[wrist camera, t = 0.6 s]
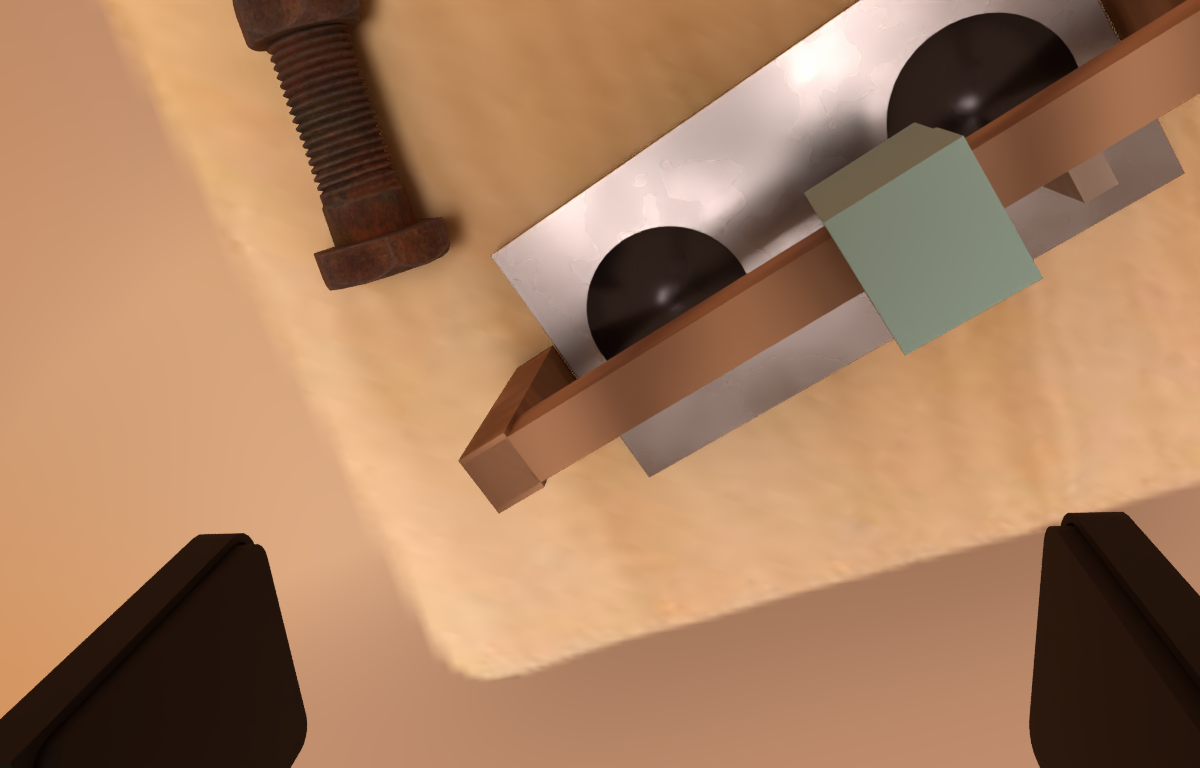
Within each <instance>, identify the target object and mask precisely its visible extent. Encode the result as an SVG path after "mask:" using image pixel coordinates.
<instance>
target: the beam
mask: <svg viewBox="0 0 1200 768" xmlns="http://www.w3.org/2000/svg"><path fill="white" fill-rule="evenodd" d="M1102 2H1103V4H1104V6H1105V8H1106V10H1107V12H1108V14H1109V16H1110V18H1111V20H1112V22H1113V24H1114V26H1115V28H1116V30H1117V32H1118V34H1119V36H1120V38H1121V40H1122V41H1121V42H1119V43H1117V44H1116V45H1114V46H1112V47H1111V48H1109V49H1108V50H1106V51H1104V52H1103V53H1101V54H1100V55H1098V56H1096V57H1095V58H1093V59H1092V60H1090V61H1088V62H1087V63H1085V64H1084V65H1082V66H1080V67H1079V68H1077V69H1075V70H1074V71H1072V72H1071V73H1069V74H1067V75H1066V76H1064V77H1063V78H1061V79H1059V80H1058V81H1056V82H1055V83H1053V84H1051V85H1050V86H1048V87H1047V88H1045V89H1043V90H1042V91H1040V92H1039V93H1037V94H1035V95H1034V96H1032V97H1030V98H1029V99H1027V100H1026V101H1024V102H1022V103H1021V104H1019V105H1018V106H1016V107H1014V108H1013V109H1011V110H1010V111H1008V112H1006V113H1005V114H1003V115H1002V116H1000V117H998V118H997V119H995V120H993V121H992V122H990V123H989V124H987V125H985V126H984V127H982V128H981V129H979V130H977V131H976V132H974V133H973V134H971V135H969V136H968V137H966V138H965V139H966V141H967V143H968V145H969V146H970V148H971V150H972V152H973V154H974V155H975V157H976V159H977V161H978V163H979V164H980V166H981V168H982V170H983V172H984V173H985V175H986V177H987V179H988V180H989V182H990V184H991V186H992V188H993V189H994V191H995V193H996V195H997V197H998V198H999V200H1000V202H1001V204H1002V206H1003V207H1004V209H1005V208H1007V207H1008V206H1010V205H1012V204H1013V203H1015V202H1017V201H1018V200H1020V199H1022V198H1024V197H1025V196H1027V195H1029V194H1030V193H1032V192H1034V191H1035V190H1037V189H1039V188H1040V187H1042V186H1043V187H1045V188H1048V189H1050V190H1053V191H1055V192H1058V193H1060V194H1063V195H1065V196H1068V197H1070V198H1073V199H1076V200H1078V201H1081V202H1083V203H1087V202H1088V201H1090V200H1092V199H1094V198H1095V197H1097V196H1099V195H1100V194H1102V193H1104V192H1106V191H1107V190H1109V189H1111V188H1113V187H1114V186H1116V185H1118V184H1119V183H1118V181H1117V179H1116V177H1115V175H1114V174H1113V172H1112V170H1111V168H1110V166H1109V164H1108V162H1107V160H1106V158H1105V156H1104V154H1103V152H1102V151H1103V150H1105V149H1106V148H1108V147H1110V146H1112V145H1113V144H1115V143H1117V142H1118V141H1120V140H1122V139H1123V138H1125V137H1127V136H1129V135H1130V134H1132V133H1134V132H1135V131H1137V130H1139V129H1140V128H1142V127H1144V126H1145V125H1147V124H1149V123H1151V122H1152V121H1154V120H1156V119H1157V118H1159V117H1161V116H1162V115H1164V114H1166V113H1167V112H1169V111H1171V110H1173V109H1174V108H1176V107H1178V106H1179V105H1181V104H1183V103H1184V102H1186V101H1188V100H1189V99H1191V98H1193V97H1195V96H1196V95H1198V94H1200V0H1102ZM863 292H864V289H863V287H862V286H861V284H860V282H859V281H858V279H857V278H856V276H855V274H854V273H853V271H852V269H851V268H850V266H849V264H848V263H847V261H846V260H845V258H844V256H843V255H842V253H841V251H840V250H839V248H838V247H837V245H836V243H835V242H834V240H833V238H832V237H831V235H830V233H829V232H828V230H827V229H826V227H825V226H823V227H821V228H820V229H818V230H817V231H815V232H813V233H812V234H810V235H809V236H807V237H805V238H804V239H802V240H801V241H799V242H797V243H796V244H794V245H793V246H791V247H789V248H788V249H786V250H784V251H783V252H781V253H780V254H778V255H776V256H775V257H773V258H772V259H770V260H768V261H767V262H765V263H764V264H762V265H760V266H759V267H757V268H756V269H754V270H752V271H751V272H749V273H747V274H746V275H744V276H743V277H741V278H739V279H738V280H736V281H735V282H733V283H731V284H730V285H728V286H727V287H725V288H723V289H722V290H720V291H719V292H717V293H715V294H714V295H712V296H711V297H709V298H707V299H706V300H704V301H702V302H701V303H699V304H698V305H696V306H694V307H693V308H691V309H690V310H688V311H686V312H685V313H683V314H682V315H680V316H678V317H677V318H675V319H674V320H672V321H670V322H669V323H667V324H665V325H664V326H662V327H661V328H659V329H657V330H656V331H654V332H653V333H651V334H649V335H648V336H646V337H645V338H643V339H641V340H640V341H638V342H637V343H635V344H633V345H632V346H630V347H629V348H627V349H625V350H624V351H622V352H620V353H619V354H617V355H616V356H614V357H612V358H611V359H609V360H608V361H606V362H604V363H603V364H601V365H600V366H598V367H596V368H595V369H593V370H592V371H590V372H588V373H587V374H585V375H584V376H582V377H580V378H579V379H577V380H576V378H575V377H574V375H573V374H572V373H571V371H570V370H569V369H568V367H567V366H566V364H565V363H564V362H563V360H562V359H561V357H560V356H559V355H558V353H557V352H556V350H555V349H554V348H553V346H551V347H550V348H548V349H546V350H545V351H543V352H542V353H540V354H539V355H537V356H536V357H534V358H532V359H531V360H529V361H528V362H526V363H525V364H523V365H522V366H520V367H518V368H517V369H516V370H515V372H514V374H513V375H512V377H511V378H510V380H509V382H508V383H507V385H506V386H505V388H504V389H503V391H502V393H501V394H500V396H499V397H498V399H497V401H496V402H495V404H494V405H493V407H492V408H491V410H490V412H489V413H488V415H487V416H486V418H485V419H484V421H483V423H482V424H481V426H480V427H479V429H478V431H477V432H476V434H475V435H474V437H473V438H472V440H471V442H470V443H469V445H468V446H467V448H466V450H465V451H464V453H463V454H462V456H461V457H460V459H459V462H460V463H461V465H462V466H463V467H464V469H465V470H466V471H467V473H468V474H469V475H470V476H471V478H472V479H473V480H474V482H475V483H476V484H477V486H478V487H479V488H480V489H481V491H482V492H483V493H484V495H485V496H486V497H487V499H488V500H489V501H490V502H491V504H492V505H493V506H494V508H495V509H496V510H497V512H498V513H501V512H502V511H504V510H506V509H508V508H509V507H511V506H513V505H514V504H516V503H518V502H519V501H521V500H523V499H525V498H526V497H528V496H530V495H531V494H533V493H535V492H536V491H538V490H540V489H542V488H543V487H544V486H545V484H546V481H547V479H548V478H549V477H551V476H553V475H554V474H556V473H558V472H559V471H561V470H563V469H565V468H566V467H568V466H570V465H571V464H573V463H575V462H576V461H578V460H580V459H581V458H583V457H585V456H587V455H588V454H590V453H592V452H593V451H595V450H597V449H598V448H600V447H602V446H604V445H605V444H607V443H609V442H610V441H612V440H614V439H615V438H617V437H619V436H620V435H622V434H624V433H626V432H627V431H629V430H631V429H632V428H634V427H636V426H637V425H639V424H641V423H642V422H644V421H646V420H648V419H649V418H651V417H653V416H654V415H656V414H658V413H659V412H661V411H663V410H664V409H666V408H668V407H670V406H671V405H673V404H675V403H676V402H678V401H680V400H681V399H683V398H685V397H686V396H688V395H690V394H692V393H693V392H695V391H697V390H698V389H700V388H702V387H703V386H705V385H707V384H709V383H710V382H712V381H714V380H715V379H717V378H719V377H720V376H722V375H724V374H725V373H727V372H729V371H731V370H732V369H734V368H736V367H737V366H739V365H741V364H742V363H744V362H746V361H747V360H749V359H751V358H753V357H754V356H756V355H758V354H759V353H761V352H763V351H764V350H766V349H768V348H769V347H771V346H773V345H775V344H776V343H778V342H780V341H781V340H783V339H785V338H786V337H788V336H790V335H791V334H793V333H795V332H797V331H798V330H800V329H802V328H803V327H805V326H807V325H808V324H810V323H812V322H814V321H815V320H817V319H819V318H820V317H822V316H824V315H825V314H827V313H829V312H830V311H832V310H834V309H836V308H837V307H839V306H841V305H842V304H844V303H846V302H847V301H849V300H851V299H852V298H854V297H856V296H858V295H859V294H861V293H863Z"/></svg>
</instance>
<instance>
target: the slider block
mask: <svg viewBox="0 0 1200 768" xmlns="http://www.w3.org/2000/svg"><path fill="white" fill-rule="evenodd" d="M804 194H805V196H806V197H807V199H808V200H809V202H810V204H811V205H812V207H813V209H814V210H815V212H816V213H817V215H818V217H819V218H820V220H821V221H822V223H823V224H824V226H825V227H826V229H827V230H828V232H829V233H830V235H831V237H832V238H833V240H834V242H835V243H836V245H837V247H838V248H839V250H840V251H841V253H842V255H843V256H844V258H845V260H846V261H847V263H848V264H849V266H850V268H851V269H852V271H853V273H854V274H855V276H856V278H857V279H858V281H859V282H860V284H861V286H862V287H863V289H864V292H865V293H866V295H867V297H868V298H869V300H870V301H871V303H872V305H873V306H874V308H875V309H876V311H877V312H878V314H879V315H880V317H881V319H882V320H883V322H884V323H885V325H886V326H887V328H888V330H889V331H890V333H891V334H892V336H893V337H894V339H895V341H896V342H897V344H898V345H899V347H900V348H901V350H902V351H903V353H904V355H907V354H908V353H910V352H912V351H914V350H916V349H917V348H919V347H921V346H923V345H925V344H926V343H928V342H930V341H932V340H933V339H935V338H937V337H939V336H941V335H942V334H944V333H946V332H948V331H950V330H951V329H953V328H955V327H957V326H958V325H960V324H962V323H964V322H966V321H967V320H969V319H971V318H973V317H974V316H976V315H978V314H980V313H982V312H983V311H985V310H987V309H989V308H991V307H992V306H994V305H996V304H998V303H999V302H1001V301H1003V300H1005V299H1007V298H1008V297H1010V296H1012V295H1014V294H1016V293H1017V292H1019V291H1021V290H1023V289H1024V288H1026V287H1028V286H1030V285H1032V284H1033V283H1035V282H1037V281H1039V280H1041V279H1042V278H1043V277H1042V275H1041V274H1040V272H1039V270H1038V268H1037V266H1036V265H1035V263H1034V261H1033V259H1032V257H1031V256H1030V254H1029V252H1028V250H1027V248H1026V247H1025V245H1024V243H1023V241H1022V240H1021V238H1020V236H1019V234H1018V232H1017V231H1016V229H1015V227H1014V225H1013V223H1012V222H1011V220H1010V218H1009V216H1008V214H1007V213H1006V211H1005V209H1004V207H1003V206H1002V204H1001V202H1000V200H999V198H998V197H997V195H996V193H995V191H994V189H993V188H992V186H991V184H990V182H989V180H988V179H987V177H986V175H985V173H984V172H983V170H982V168H981V166H980V164H979V163H978V161H977V159H976V157H975V155H974V154H973V152H972V150H971V148H970V146H969V145H968V143H967V141H966V139H965V138H964V136H963V135H960V134H956V133H953V132H950V131H947V130H944V129H941V128H937V127H936V128H934V129H933V128H930V127H927V126H924V125H921V124H918V123H913V124H911V125H909V126H908V127H906V128H905V129H903V130H902V131H900V132H898V133H897V134H895V135H894V136H892V137H891V138H889V139H887V140H886V141H884V142H883V143H881V144H880V145H878V146H876V147H875V148H873V149H872V150H870V151H869V152H867V153H866V154H864V155H862V156H861V157H859V158H858V159H856V160H855V161H853V162H851V163H850V164H848V165H847V166H845V167H844V168H842V169H840V170H839V171H837V172H836V173H834V174H833V175H831V176H829V177H828V178H826V179H825V180H823V181H822V182H820V183H819V184H817V185H815V186H814V187H812V188H811V189H809V190H808V191H806V192H804Z"/></svg>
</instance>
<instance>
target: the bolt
mask: <svg viewBox="0 0 1200 768" xmlns="http://www.w3.org/2000/svg"><path fill="white" fill-rule="evenodd" d="M233 6H234V10H235V14H236V17H237V20H238V23H239V25H240V28H241V31H242V33H243V36H244V39H245V41H246V44H247V46H248V47H249V48H250V49H252V50H254V51H267V52H268V53H269V54H271V55H273V56H272V57H271V59H270V60H271V62H273V63H275V64H276V65H275V67H274V70H275V71H277V72H279V74H278V76H277V79H278V80H280V81H283V82H282V84H281V85H280V88H281V89H283V90H286V91H285V93H284V94H283V97H286V98H288V99H289V100H288V102H287V103H286V105H287V106H290V107H292V109H291V111H290V112H289V113H290V114H291V115H294V116H296V117H295V118H294V120H293V121H292V122H293V123H295V124H299V125H298V127H297V128H296V131H297V132H300V133H302V134H301V135H300V139H301V140H303V141H305V143H304V144H303V147H304V148H305V149H309V150H308V151H307V153H306V154H305V155H306V156H307V157H310V158H311V159H310V161H309V162H308V163H309V165H310V166H314V168H313V169H312V170H311V172H312V174H316V175H317V176H316V177H315V179H314V182H318V183H320V184H319V186H318V187H317V189H318V191H323V193H322V194H321V195H320V198H321V201H322V204H323V208H322V210H323V213H324V216H325V219H326V222H327V224H328V227H329V230H330V233H331V236H332V239H333V242H334V245H335V247H332V248H329V249H326V250H323V251H320V252H317V253H314V256H315V259H316V262H317V264H318V267H319V270H320V272H321V275H322V277H323V280H324V282H325V284H326V286H327V287H328V289H329V290H338V289H344V288H348V287H353V286H357V285H362V284H366V283H370V282H373V281H376V280H379V279H382V278H385V277H389V276H392V275H395V274H398V273H401V272H404V271H407V270H410V269H413V268H416V267H418V266H422V265H425V264H428V263H430V262H432V261H434V260H436V259H438V258H440V257H442V256H443V255H445V254H446V253H447V252H448V250H449V247H450V243H449V239H448V236H447V233H446V230H445V227H444V224H443V221H442V218H441V217H440V218H428V219H424V220H421V221H417V222H416V221H415V218H414V215H413V212H412V209H411V207H410V204H409V201H408V198H407V195H406V192H405V189H404V186H403V185H402V184H401V183H400V181H399V178H398V177H397V176H396V175H395V174H396V170H395V169H393V168H390V166H392V165H393V164H394V163H393V161H390V160H387V158H388V157H390V156H391V154H390V153H388V152H385V151H384V150H385V149H386V148H388V146H387V145H385V144H382V143H381V142H382V141H383V140H384V139H385V137H384V136H381V135H379V133H380V132H381V131H382V129H381V128H379V127H377V126H376V125H377V124H378V123H379V120H377V119H375V118H373V117H374V116H375V115H376V112H375V111H373V110H371V107H372V106H373V105H374V104H373V103H371V102H368V101H367V100H368V99H369V98H370V97H371V95H369V94H367V93H364V92H365V91H366V90H367V88H368V87H367V86H364V85H362V83H363V81H364V80H365V78H364V77H361V76H359V74H360V73H361V71H362V69H360V68H357V67H356V66H357V64H358V63H359V60H356V59H354V58H353V57H354V56H355V54H356V52H354V51H352V50H350V49H351V47H352V45H353V43H351V42H348V41H347V40H348V38H349V37H350V35H349V34H347V33H345V31H347V30H349V29H351V28H353V27H355V26H356V25H357V24H358V23H359V22H360V16H361V6H360V2H359V0H233Z"/></svg>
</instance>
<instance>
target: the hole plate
mask: <svg viewBox="0 0 1200 768" xmlns="http://www.w3.org/2000/svg"><path fill="white" fill-rule="evenodd" d="M1117 43H1119V41H1118V39H1117V37H1116V35H1115V33H1114V31H1113V29H1112V27H1111V25H1110V23H1109V21H1108V20H1107V18H1106V16H1105V14H1104V12H1103V10H1102V8H1101V6H1100V4H1099V2H1098V0H858V1H857V2H855V3H854V4H852V5H851V6H849V7H848V8H846V9H845V10H844V11H842V12H841V13H839V14H838V15H836V16H835V17H833V18H832V19H831V20H829V21H828V22H826V23H825V24H823V25H822V26H820V27H819V28H818V29H816V30H815V31H813V32H812V33H810V34H809V35H807V36H806V37H805V38H803V39H802V40H800V41H799V42H797V43H796V44H794V45H793V46H792V47H790V48H789V49H787V50H786V51H784V52H783V53H781V54H780V55H779V56H777V57H776V58H774V59H773V60H771V61H770V62H768V63H767V64H766V65H764V66H763V67H761V68H760V69H758V70H757V71H756V72H754V73H753V74H751V75H750V76H748V77H747V78H745V79H744V80H743V81H741V82H740V83H738V84H737V85H735V86H734V87H732V88H731V89H730V90H728V91H727V92H725V93H724V94H722V95H721V96H719V97H718V98H717V99H715V100H714V101H712V102H711V103H709V104H708V105H706V106H705V107H704V108H702V109H701V110H699V111H698V112H696V113H695V114H693V115H692V116H691V117H689V118H688V119H686V120H685V121H683V122H682V123H680V124H679V125H678V126H676V127H675V128H673V129H672V130H670V131H669V132H667V133H666V134H665V135H663V136H662V137H660V138H659V139H657V140H656V141H655V142H653V143H652V144H650V145H649V146H647V147H646V148H644V149H643V150H642V151H640V152H639V153H637V154H636V155H634V156H633V157H631V158H630V159H629V160H627V161H626V162H624V163H623V164H621V165H620V166H618V167H617V168H616V169H614V170H613V171H611V172H610V173H608V174H607V175H605V176H604V177H603V178H601V179H600V180H598V181H597V182H595V183H594V184H592V185H591V186H590V187H588V188H587V189H585V190H584V191H582V192H581V193H579V194H578V195H577V196H575V197H574V198H572V199H571V200H569V201H568V202H567V203H565V204H564V205H562V206H561V207H559V208H558V209H556V210H555V211H554V212H552V213H551V214H549V215H548V216H546V217H545V218H543V219H542V220H541V221H539V222H538V223H536V224H535V225H533V226H532V227H530V228H529V229H528V230H526V231H525V232H523V233H522V234H520V235H519V236H517V237H516V238H515V239H513V240H512V241H510V242H509V243H507V244H506V245H504V246H503V247H502V248H500V249H499V250H497V251H496V252H495V253H494V254H493V255H492V258H493V259H494V261H495V262H496V263H497V265H498V266H499V268H500V269H501V270H502V272H503V273H504V275H505V276H506V277H507V279H508V280H509V282H510V283H511V284H512V286H513V287H514V289H515V290H516V291H517V293H518V294H519V296H520V297H521V298H522V300H523V301H524V303H525V304H526V305H527V307H528V308H529V310H530V311H531V312H532V314H533V315H534V317H535V318H536V319H537V321H538V322H539V324H540V325H541V327H542V328H543V329H544V331H545V332H546V334H547V335H548V336H549V338H550V339H551V341H552V342H553V343H554V345H555V346H556V348H557V349H558V350H559V352H560V353H561V355H562V356H563V357H564V359H565V360H566V362H567V363H568V364H569V366H570V367H571V369H572V370H573V371H574V373H575V374H576V376H577V377H578V378H580V377H582V376H584V375H585V374H587V373H588V372H590V371H592V370H593V369H595V368H596V367H598V366H600V365H601V364H603V363H604V362H606V361H608V360H609V359H611V358H612V357H614V356H616V355H617V354H619V353H620V352H622V351H624V350H625V349H627V348H629V347H630V346H632V345H633V344H635V343H637V342H638V341H640V340H641V339H643V338H645V337H646V336H648V335H649V334H651V333H653V332H654V331H656V330H657V329H659V328H661V327H662V326H664V325H665V324H667V323H669V322H670V321H672V320H674V319H675V318H677V317H678V316H680V315H682V314H683V313H685V312H686V311H688V310H690V309H691V308H693V307H694V306H696V305H698V304H699V303H701V302H702V301H704V300H706V299H707V298H709V297H711V296H712V295H714V294H715V293H717V292H719V291H720V290H722V289H723V288H725V287H727V286H728V285H730V284H731V283H733V282H735V281H736V280H738V279H739V278H741V277H743V276H744V275H746V274H747V273H749V272H751V271H752V270H754V269H756V268H757V267H759V266H760V265H762V264H764V263H765V262H767V261H768V260H770V259H772V258H773V257H775V256H776V255H778V254H780V253H781V252H783V251H784V250H786V249H788V248H789V247H791V246H793V245H794V244H796V243H797V242H799V241H801V240H802V239H804V238H805V237H807V236H809V235H810V234H812V233H813V232H815V231H817V230H818V229H820V228H821V227H823V226H824V224H823V223H822V221H821V220H820V218H819V217H818V215H817V213H816V212H815V210H814V209H813V207H812V205H811V204H810V202H809V200H808V199H807V197H806V196H805V194H804V192H806V191H808V190H809V189H811V188H812V187H814V186H815V185H817V184H819V183H820V182H822V181H823V180H825V179H826V178H828V177H829V176H831V175H833V174H834V173H836V172H837V171H839V170H840V169H842V168H844V167H845V166H847V165H848V164H850V163H851V162H853V161H855V160H856V159H858V158H859V157H861V156H862V155H864V154H866V153H867V152H869V151H870V150H872V149H873V148H875V147H876V146H878V145H880V144H881V143H883V142H884V141H886V140H887V139H889V138H891V137H892V136H894V135H895V134H897V133H898V132H900V131H902V130H903V129H905V128H906V127H908V126H909V125H911V124H913V123H918V124H921V125H924V126H927V127H930V128H933V129H934V128H936V127H937V128H941V129H944V130H947V131H950V132H953V133H956V134H960V135H963V136H964V138H966V137H968V136H969V135H971V134H973V133H974V132H976V131H977V130H979V129H981V128H982V127H984V126H985V125H987V124H989V123H990V122H992V121H993V120H995V119H997V118H998V117H1000V116H1002V115H1003V114H1005V113H1006V112H1008V111H1010V110H1011V109H1013V108H1014V107H1016V106H1018V105H1019V104H1021V103H1022V102H1024V101H1026V100H1027V99H1029V98H1030V97H1032V96H1034V95H1035V94H1037V93H1039V92H1040V91H1042V90H1043V89H1045V88H1047V87H1048V86H1050V85H1051V84H1053V83H1055V82H1056V81H1058V80H1059V79H1061V78H1063V77H1064V76H1066V75H1067V74H1069V73H1071V72H1072V71H1074V70H1075V69H1077V68H1079V67H1080V66H1082V65H1084V64H1085V63H1087V62H1088V61H1090V60H1092V59H1093V58H1095V57H1096V56H1098V55H1100V54H1101V53H1103V52H1104V51H1106V50H1108V49H1109V48H1111V47H1112V46H1114V45H1116V44H1117ZM1102 152H1103V154H1104V156H1105V158H1106V160H1107V162H1108V164H1109V166H1110V168H1111V170H1112V172H1113V174H1114V175H1115V177H1116V179H1117V181H1118V183H1119V184H1118V185H1116V186H1114V187H1113V188H1111V189H1109V190H1107V191H1106V192H1104V193H1102V194H1100V195H1099V196H1097V197H1095V198H1094V199H1092V200H1090V201H1088V202H1087V203H1083V202H1081V201H1078V200H1076V199H1073V198H1070V197H1068V196H1065V195H1063V194H1060V193H1058V192H1055V191H1053V190H1050V189H1048V188H1045V187H1043V186H1042V187H1040V188H1039V189H1037V190H1035V191H1034V192H1032V193H1030V194H1029V195H1027V196H1025V197H1024V198H1022V199H1020V200H1018V201H1017V202H1015V203H1013V204H1012V205H1010V206H1008V207H1007V208H1005V211H1006V213H1007V214H1008V216H1009V218H1010V220H1011V222H1012V223H1013V225H1014V227H1015V229H1016V231H1017V232H1018V234H1019V236H1020V238H1021V240H1022V241H1023V243H1024V245H1025V247H1026V248H1027V250H1028V252H1029V254H1030V256H1031V257H1032V259H1035V258H1036V257H1038V256H1040V255H1042V254H1043V253H1045V252H1047V251H1049V250H1050V249H1052V248H1054V247H1056V246H1057V245H1059V244H1061V243H1063V242H1065V241H1066V240H1068V239H1070V238H1072V237H1073V236H1075V235H1077V234H1079V233H1080V232H1082V231H1084V230H1086V229H1087V228H1089V227H1091V226H1093V225H1094V224H1096V223H1098V222H1100V221H1101V220H1103V219H1105V218H1107V217H1108V216H1110V215H1112V214H1114V213H1116V212H1117V211H1119V210H1121V209H1123V208H1124V207H1126V206H1128V205H1130V204H1131V203H1133V202H1135V201H1137V200H1138V199H1140V198H1142V197H1144V196H1145V195H1147V194H1149V193H1151V192H1152V191H1154V190H1156V189H1158V188H1160V187H1161V186H1163V185H1165V184H1167V183H1168V182H1170V181H1172V180H1174V179H1175V178H1177V177H1179V176H1181V175H1182V174H1184V171H1183V169H1182V167H1181V165H1180V163H1179V161H1178V159H1177V157H1176V155H1175V153H1174V151H1173V149H1172V147H1171V145H1170V143H1169V141H1168V139H1167V137H1166V135H1165V133H1164V131H1163V129H1162V127H1161V125H1160V123H1159V121H1158V119H1156V120H1154V121H1152V122H1151V123H1149V124H1147V125H1145V126H1144V127H1142V128H1140V129H1139V130H1137V131H1135V132H1134V133H1132V134H1130V135H1129V136H1127V137H1125V138H1123V139H1122V140H1120V141H1118V142H1117V143H1115V144H1113V145H1112V146H1110V147H1108V148H1106V149H1105V150H1103V151H1102ZM892 339H894V337H893V336H892V334H891V333H890V331H889V330H888V328H887V326H886V325H885V323H884V322H883V320H882V319H881V317H880V315H879V314H878V312H877V311H876V309H875V308H874V306H873V305H872V303H871V301H870V300H869V298H868V297H867V295H866V293H865V292H863V293H861V294H859V295H858V296H856V297H854V298H852V299H851V300H849V301H847V302H846V303H844V304H842V305H841V306H839V307H837V308H836V309H834V310H832V311H830V312H829V313H827V314H825V315H824V316H822V317H820V318H819V319H817V320H815V321H814V322H812V323H810V324H808V325H807V326H805V327H803V328H802V329H800V330H798V331H797V332H795V333H793V334H791V335H790V336H788V337H786V338H785V339H783V340H781V341H780V342H778V343H776V344H775V345H773V346H771V347H769V348H768V349H766V350H764V351H763V352H761V353H759V354H758V355H756V356H754V357H753V358H751V359H749V360H747V361H746V362H744V363H742V364H741V365H739V366H737V367H736V368H734V369H732V370H731V371H729V372H727V373H725V374H724V375H722V376H720V377H719V378H717V379H715V380H714V381H712V382H710V383H709V384H707V385H705V386H703V387H702V388H700V389H698V390H697V391H695V392H693V393H692V394H690V395H688V396H686V397H685V398H683V399H681V400H680V401H678V402H676V403H675V404H673V405H671V406H670V407H668V408H666V409H664V410H663V411H661V412H659V413H658V414H656V415H654V416H653V417H651V418H649V419H648V420H646V421H644V422H642V423H641V424H639V425H637V426H636V427H634V428H632V429H631V430H629V431H627V432H626V433H624V434H622V435H620V437H621V439H622V440H623V441H624V443H625V444H626V446H627V447H628V448H629V450H630V451H631V453H632V454H633V455H634V457H635V458H636V460H637V461H638V462H639V464H640V465H641V467H642V468H643V469H644V471H645V472H646V474H647V475H648V476H649V477H651V476H653V475H655V474H656V473H658V472H660V471H662V470H663V469H665V468H667V467H669V466H670V465H672V464H674V463H676V462H677V461H679V460H681V459H683V458H684V457H686V456H688V455H690V454H691V453H693V452H695V451H697V450H699V449H700V448H702V447H704V446H706V445H707V444H709V443H711V442H713V441H714V440H716V439H718V438H720V437H721V436H723V435H725V434H727V433H728V432H730V431H732V430H734V429H735V428H737V427H739V426H741V425H742V424H744V423H746V422H748V421H750V420H751V419H753V418H755V417H757V416H758V415H760V414H762V413H764V412H765V411H767V410H769V409H771V408H772V407H774V406H776V405H778V404H779V403H781V402H783V401H785V400H786V399H788V398H790V397H792V396H794V395H795V394H797V393H799V392H801V391H802V390H804V389H806V388H808V387H809V386H811V385H813V384H815V383H816V382H818V381H820V380H822V379H823V378H825V377H827V376H829V375H830V374H832V373H834V372H836V371H838V370H839V369H841V368H843V367H845V366H846V365H848V364H850V363H852V362H853V361H855V360H857V359H859V358H860V357H862V356H864V355H866V354H867V353H869V352H871V351H873V350H874V349H876V348H878V347H880V346H882V345H883V344H885V343H887V342H889V341H890V340H892Z"/></svg>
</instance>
